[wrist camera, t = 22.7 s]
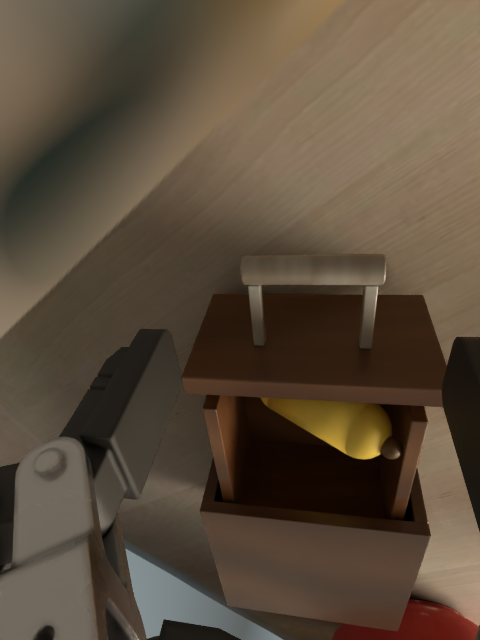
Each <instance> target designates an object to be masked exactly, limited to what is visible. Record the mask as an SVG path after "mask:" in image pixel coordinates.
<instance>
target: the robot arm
mask: <svg viewBox="0 0 480 640" xmlns="http://www.w3.org/2000/svg"><path fill="white" fill-rule="evenodd" d="M180 386H181V371H180V367H179V363H178V359H177V355H176V351H175V347H174V343H173V339H172V335H171V333H170V331H169V330H167V329H140V330H139V331H138V332H137V334H136V336H135V338H134V339H133V341H132V343H131V345H130V346H129V347H121V348H120V349H119V350H117V351H116V352H115V353H114V354H113V355H111V356H110V357H109V358H108V359H107V360H106V361H105V363H104V365H103V366H102V368H101V370H100V371H99V373H98V377H96V378H95V379H94V381H93V383H92V384H91V386H90V389H88V391H87V392H86V394H85V396H84V397H83V399H82V401H81V402H80V404H79V405H78V407H77V409H76V410H75V412H74V414H73V415H72V417H71V419H70V420H69V422H68V423H67V425H66V427H65V428H64V430H63V432H62V433H61V435H60V436H59V437H58V438H53V439H50V440H47V441H45V442H43V443H41V444H39V445H38V446H36V447H35V448H33V449H32V450H31V451H30V452H29V453H28V454H27V455H26V456H25V457H24V458H23V460H22V461H21V463H17V464H12V465H7V466H3V467H0V640H241V639H239V638H237V637H235V636H233V635H230V634H229V633H227V632H225V631H223V630H221V629H219V628H213V627H207V626H201V625H195V624H188V623H183V622H176V621H170V620H164V621H163V625H162V628H161V632H160V636H155V637H152V638H149V639H146V634H145V630H144V626H143V622H142V618H141V615H140V612H139V609H138V607H137V604H136V601H135V597H134V593H133V589H132V584H131V578H130V573H129V568H128V562H127V557H126V551H125V546H124V540H123V535H122V529H121V524H120V519H119V515H118V513H117V511H118V509H119V507H120V504H121V502H122V499H123V498H126V499H136V500H139V498H140V495H141V493H142V490H143V487H144V485H145V482H146V479H147V477H148V474H149V471H150V469H151V466H152V463H153V461H154V458H155V455H156V453H157V450H158V447H159V445H160V442H161V439H162V437H163V434H164V431H165V429H166V426H167V423H168V421H169V418H170V416H171V413H172V410H173V408H174V405H175V402H176V400H177V397H178V394H179V391H180ZM442 403H443V408H444V412H445V415H446V418H447V422H448V425H449V429H450V432H451V436H452V439H453V442H454V446H455V449H456V453H457V456H458V459H459V463H460V466H461V470H462V473H463V477H464V480H465V483H466V487H467V490H468V494H469V497H470V501H471V504H472V507H473V511H474V514H475V518H476V521H477V524H478V528H479V531H480V337H456V338H455V340H454V342H453V345H452V349H451V353H450V357H449V360H448V364H447V368H446V372H445V375H444V379H443V383H442ZM474 640H480V625H479V628H478V631H477V634H476V636H475V639H474Z"/></svg>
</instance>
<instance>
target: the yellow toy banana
mask: <svg viewBox="0 0 480 640" xmlns="http://www.w3.org/2000/svg"><path fill="white" fill-rule="evenodd" d="M260 398H261V397H260ZM261 400H262V402H263V403H264V404H265V405H266V406H267V407H268V408H270V409H271V410H273V411H275V412H276V413H278V414H280V415H281V416H283V417H285V418H286V419H288V420H290V421H291V422H293V423H295V424H296V425H298V426H300V427H301V428H303V429H305V430H307V431H308V432H310V433H312V434H313V435H315V436H317V437H318V438H320V439H322V440H323V441H325V442H327V443H328V444H330V445H332V446H333V447H335V448H337V449H338V450H340V451H342V452H343V453H345V454H347V455H349V456H351V457H353V458H357V459H371V458H374V457H376V456H379V455H380V454H382V455H383V456H384V457H386V458H388V459H396V458H398V457H399V456H400V455H401V453H402V445H401V443H400V441H399V440H398V439H397V438H395V437H392V424H391V421H390V418H389V416H388V414H387V413H386V412H385V410H384V409H383V408H382V407H381V406H380V405H378V404H374V403H355V402H336V401H318V400H299V399H280V398H261Z"/></svg>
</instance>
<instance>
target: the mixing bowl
mask: <svg viewBox="0 0 480 640" xmlns="http://www.w3.org/2000/svg"><path fill="white" fill-rule="evenodd" d="M478 628H479V627H478V626H477V625H476V624H474V623H473V622H471V621H469V620H468V619H466V618H464V617H463V616H462V615H461V614H460V613H458V612H457V611H455V610H453V609H451V608H448V607H446V606H443V605H440V604H436V603H432V602H427V601H421V600H413V599H409V601H408V604H407V606H406V609H405V612H404V615H403V618H402V621H401V624H400V627H399V629H398V631H391V630H384V629H377V628H371V627H364V626H357V625H351V624H344V623H341V624H340V626H339V627H338V629H337V630H336V632H335V634H334V636H333V638H332V640H474V639H475V636H476V634H477V631H478Z"/></svg>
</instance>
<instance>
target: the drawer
mask: <svg viewBox="0 0 480 640" xmlns="http://www.w3.org/2000/svg"><path fill="white" fill-rule="evenodd" d="M385 278H386V257H385V255H384V254H339V255H260V256H243V257H242V260H241V280H242V283H243V284H244V285H248V293H249V294H213V296H212V299H211V302H210V304H209V307H208V309H207V312H206V315H205V317H204V320H203V322H202V325H201V327H200V330H199V333H198V335H197V338H196V340H195V343H194V346H193V348H192V351H191V353H190V356H189V358H188V361H187V364H186V366H185V369H184V371H183V374H182V376H181V380H182V384H183V388H184V391H185V393H186V394H204V395H207V396H206V399H205V402H204V406H203V413H204V417H205V422H206V426H207V431H208V435H209V440H210V444H211V448H212V453H213V457H214V462H215V466H216V471H217V475H218V479H219V484H220V488H221V493H222V497H223V501H224V502H226V503H236V504H245V505H255V506H265V507H274V508H284V509H294V510H304V511H313V512H323V513H333V514H342V515H352V516H362V517H372V518H381V519H391V520H401V521H403V519H404V515H405V511H406V507H407V504H408V500H409V496H410V492H411V488H412V484H413V480H414V476H415V472H416V468H417V464H418V461H419V457H420V453H421V449H422V445H423V441H424V437H425V433H426V429H427V425H428V419H427V415H426V411H425V407H424V406H431V407H443V403H442V383H443V379H444V375H445V372H446V368H447V365H446V362H445V359H444V356H443V353H442V350H441V347H440V344H439V341H438V338H437V335H436V332H435V329H434V326H433V323H432V320H431V317H430V314H429V311H428V308H427V305H426V303H425V300H424V297H423V295H378V285H383V284H384V282H385ZM261 285H364V289H363V295H311V294H262V286H261ZM260 397H261V398H280V399H299V400H318V401H336V402H355V403H374V404H378V405H380V406H381V407H382V408H383V409H384V410H385V412H386V413H387V414H388V416H389V418H390V421H391V424H392V437H395V438H397V439H398V440H399V441H400V443H401V445H402V453H401V455H400V456H399V457H398V458H396V459H388V458H386V457H384V456H383V455H382V454H380V455H379V456H376V457H374V458H371V459H357V458H353V457H351V456H349V455H347V454H345V453H343V452H342V451H340V450H338V449H337V448H335V447H333V446H332V445H330V444H328V443H327V442H325V441H323V440H322V439H320V438H318V437H317V436H315V435H313V434H312V433H310V432H308V431H307V430H305V429H303V428H301V427H300V426H298V425H296V424H295V423H293V422H291V421H290V420H288V419H286V418H285V417H283V416H281V415H280V414H278V413H276V412H275V411H273V410H271V409H270V408H268V407H267V406H266V405H265V404H264V403H263V402H262V400H261V398H260Z"/></svg>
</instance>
